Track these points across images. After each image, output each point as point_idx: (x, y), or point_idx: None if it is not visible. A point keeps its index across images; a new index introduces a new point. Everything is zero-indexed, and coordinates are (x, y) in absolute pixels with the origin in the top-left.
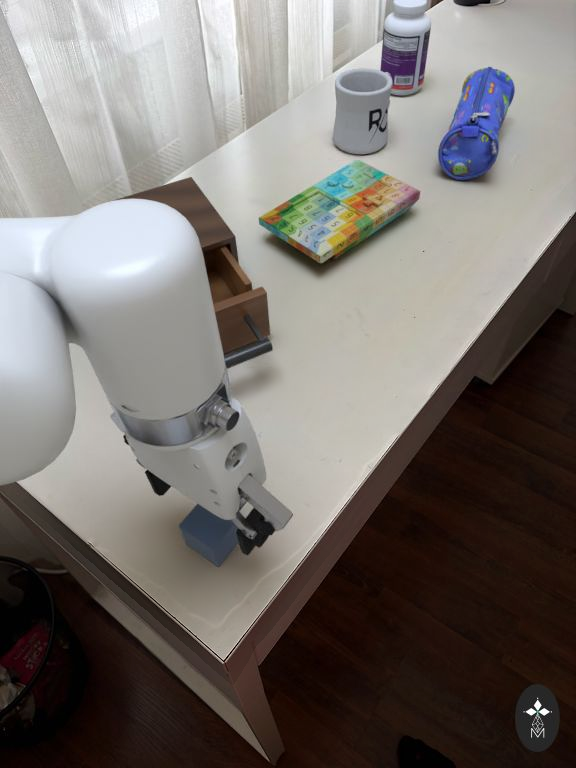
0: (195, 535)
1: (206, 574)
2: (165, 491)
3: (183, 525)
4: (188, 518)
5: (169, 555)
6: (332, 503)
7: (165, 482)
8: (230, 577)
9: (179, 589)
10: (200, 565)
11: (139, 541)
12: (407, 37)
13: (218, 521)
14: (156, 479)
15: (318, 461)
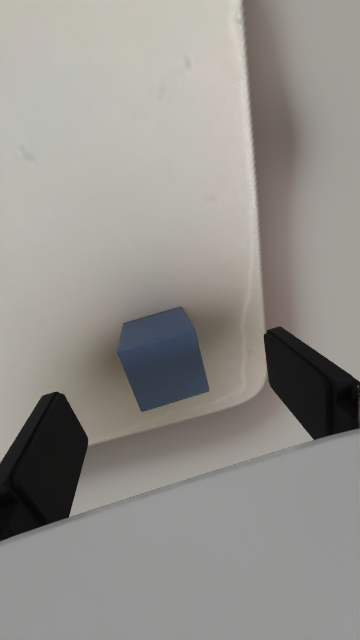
0: (173, 400)
1: None
2: (83, 434)
3: (146, 407)
4: (141, 397)
5: None
6: (238, 161)
7: (73, 451)
8: (213, 352)
9: (184, 401)
10: None
11: (100, 412)
12: None
13: (178, 364)
14: (69, 501)
15: (159, 105)
